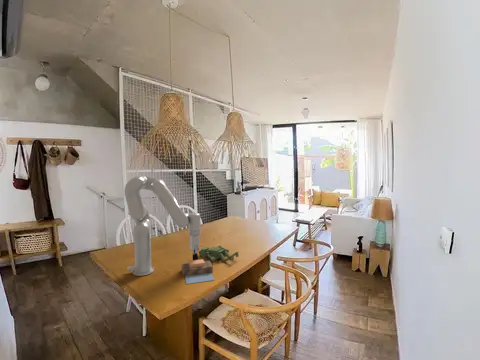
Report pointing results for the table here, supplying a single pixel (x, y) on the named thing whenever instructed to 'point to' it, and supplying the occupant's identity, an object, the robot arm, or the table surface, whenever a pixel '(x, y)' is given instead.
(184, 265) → the plate
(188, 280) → the mat
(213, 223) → the table surface
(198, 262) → the tan flat block
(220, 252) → the toy
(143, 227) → the robot arm
